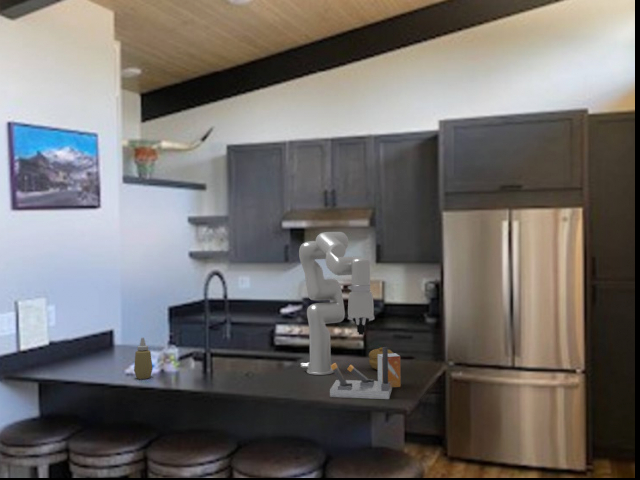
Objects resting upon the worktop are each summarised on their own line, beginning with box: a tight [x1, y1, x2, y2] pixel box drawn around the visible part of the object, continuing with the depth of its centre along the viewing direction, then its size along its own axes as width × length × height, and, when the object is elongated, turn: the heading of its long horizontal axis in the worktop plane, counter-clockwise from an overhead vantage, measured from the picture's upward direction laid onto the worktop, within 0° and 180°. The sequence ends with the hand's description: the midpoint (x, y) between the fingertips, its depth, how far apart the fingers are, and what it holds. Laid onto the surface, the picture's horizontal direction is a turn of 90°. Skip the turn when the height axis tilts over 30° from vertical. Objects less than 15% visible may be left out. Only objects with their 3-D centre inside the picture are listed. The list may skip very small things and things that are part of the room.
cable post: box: [381, 346, 390, 390], centre depth 255 cm, size 3×3×16 cm
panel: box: [329, 379, 393, 400], centre depth 262 cm, size 23×16×4 cm
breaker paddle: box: [347, 364, 369, 382], centre depth 265 cm, size 2×3×9 cm
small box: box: [377, 352, 402, 388], centre depth 273 cm, size 8×6×13 cm
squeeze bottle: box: [133, 337, 153, 380], centre depth 294 cm, size 8×8×18 cm
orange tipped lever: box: [331, 362, 347, 386], centre depth 259 cm, size 2×3×9 cm, turn 169°
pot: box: [368, 347, 394, 371], centre depth 305 cm, size 12×12×10 cm
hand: (361, 334), depth 265 cm, fingers closed
